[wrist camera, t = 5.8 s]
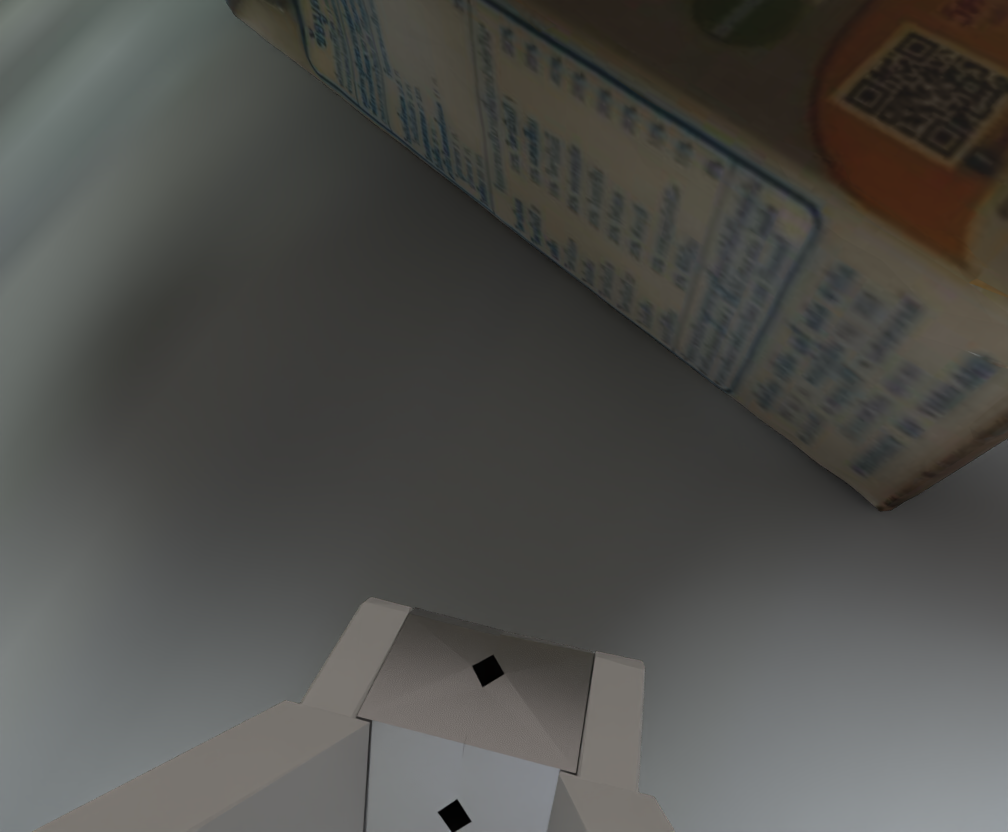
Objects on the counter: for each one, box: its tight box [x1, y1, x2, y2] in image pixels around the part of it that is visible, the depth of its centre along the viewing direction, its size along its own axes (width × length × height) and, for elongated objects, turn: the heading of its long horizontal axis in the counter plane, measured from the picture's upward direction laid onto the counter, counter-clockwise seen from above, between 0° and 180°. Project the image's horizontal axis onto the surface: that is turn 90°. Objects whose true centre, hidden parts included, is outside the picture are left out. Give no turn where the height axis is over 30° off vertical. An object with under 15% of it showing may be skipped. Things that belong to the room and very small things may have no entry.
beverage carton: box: [226, 0, 1008, 511], centre depth 14 cm, size 8×19×7 cm, turn 46°
